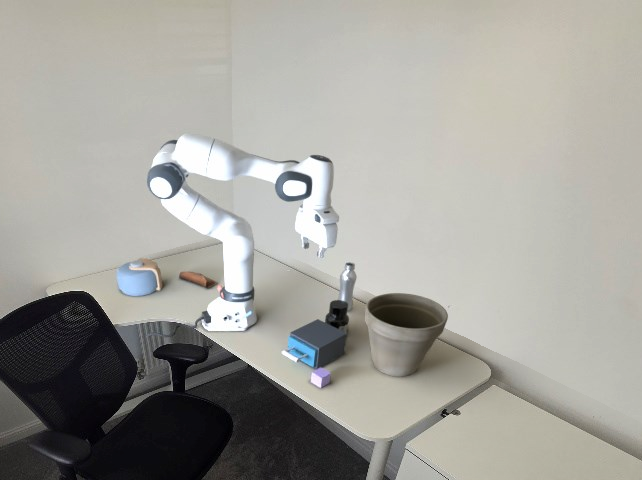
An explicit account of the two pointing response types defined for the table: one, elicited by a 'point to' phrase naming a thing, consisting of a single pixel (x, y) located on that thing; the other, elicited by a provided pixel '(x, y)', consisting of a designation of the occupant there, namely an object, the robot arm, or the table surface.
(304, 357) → the blue drawer
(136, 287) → the blue kettle
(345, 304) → the ink bottle
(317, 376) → the purple cube
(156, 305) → the table surface
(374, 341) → the flower pot
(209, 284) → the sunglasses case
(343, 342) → the drawer cabinet
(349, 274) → the silver metal bottle
